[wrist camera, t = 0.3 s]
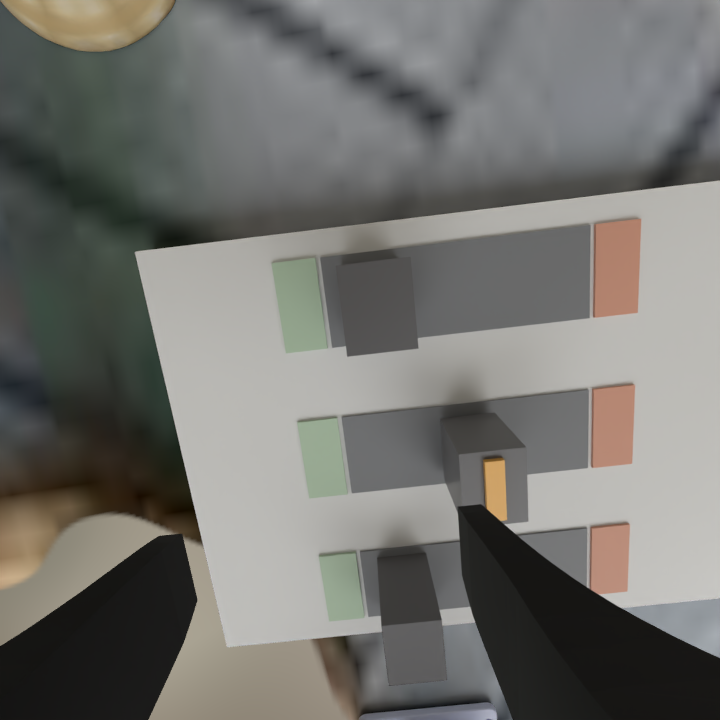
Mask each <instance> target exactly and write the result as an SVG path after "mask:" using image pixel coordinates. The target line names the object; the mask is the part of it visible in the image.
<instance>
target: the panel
mask: <svg viewBox="0 0 720 720" xmlns="http://www.w3.org/2000/svg"><path fill="white" fill-rule="evenodd" d="M135 255H136V259H137V264H138V268H139V272H140V276H141V281H142V285H143V289H144V294H145V298H146V302H147V306H148V311H149V315H150V319H151V324H152V328H153V332H154V336H155V341H156V345H157V349H158V354H159V358H160V362H161V366H162V371H163V375H164V379H165V384H166V388H167V392H168V396H169V401H170V405H171V409H172V414H173V418H174V422H175V426H176V431H177V435H178V439H179V444H180V448H181V452H182V456H183V461H184V465H185V469H186V474H187V478H188V482H189V486H190V491H191V495H192V499H193V503H194V508H195V512H196V516H197V521H198V525H199V529H200V533H201V538H202V542H203V546H204V551H205V555H206V559H207V563H208V568H209V572H210V576H211V581H212V585H213V589H214V593H215V597H216V602H217V606H218V611H219V615H220V619H221V623H222V628H223V632H224V636H225V640H226V645H227V647H235V646H246V645H255V644H266V643H274V642H275V643H276V642H286V641H295V640H306V639H316V638H326V637H336V636H346V635H356V634H366V633H376V632H382V635H383V643H384V651H385V659H386V667H387V675H388V683H389V686H393V685H403V684H414V683H424V682H434V681H444V680H447V674H446V662H445V651H444V639H443V628H442V626H446V625H456V624H466V623H475V620H474V617H473V615H472V611H471V607H470V604H469V600H468V597H467V593H466V589H465V585H464V581H463V577H462V570H461V554H460V538H459V522H458V513H457V510H456V508H455V505H454V503H453V500H452V498H451V495H450V493H449V490H448V488H447V485H446V483H445V479H444V466H443V453H442V440H441V427H440V418H449V417H458V416H467V415H476V414H485V413H494V412H495V413H496V414H497V416H498V417H499V418H500V419H501V420H502V421H503V422H504V423H505V424H506V425H507V426H508V428H509V429H510V430H511V431H512V432H513V433H514V434H515V435H516V436H517V437H518V439H519V440H520V441H521V442H522V443H523V444H524V445H525V446H526V447H527V485H528V522H521V523H511V524H505V525H506V526H507V527H508V528H509V529H510V530H512V531H513V532H514V533H515V534H516V535H517V536H519V537H520V538H521V539H522V540H523V541H525V542H526V543H527V544H528V545H530V546H531V547H532V548H533V549H535V550H536V551H537V552H538V553H540V554H541V555H542V556H543V557H545V558H546V559H547V560H549V561H550V562H551V563H553V564H554V565H556V566H557V567H558V568H560V569H561V570H563V571H564V572H565V573H567V574H568V575H570V576H571V577H572V578H574V579H575V580H577V581H578V582H580V583H581V584H583V585H584V586H586V587H587V588H589V589H591V590H592V591H594V592H595V593H597V594H599V595H600V596H602V597H604V598H605V599H607V600H608V601H610V602H612V603H613V604H615V605H617V606H618V607H620V608H626V607H636V606H646V605H656V604H666V603H676V602H686V601H696V600H706V599H716V598H720V181H711V182H703V183H695V184H687V185H679V186H670V187H662V188H654V189H646V190H637V191H629V192H621V193H613V194H605V195H596V196H588V197H580V198H572V199H564V200H555V201H547V202H539V203H531V204H523V205H514V206H506V207H498V208H490V209H481V210H473V211H465V212H457V213H449V214H440V215H432V216H424V217H416V218H408V219H399V220H391V221H383V222H375V223H367V224H358V225H350V226H342V227H334V228H325V229H317V230H309V231H301V232H293V233H284V234H276V235H268V236H260V237H252V238H243V239H235V240H227V241H219V242H211V243H202V244H194V245H186V246H178V247H169V248H161V249H153V250H145V251H137V252H135Z"/></svg>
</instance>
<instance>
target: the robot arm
mask: <svg viewBox="0 0 720 720" xmlns="http://www.w3.org/2000/svg"><path fill="white" fill-rule="evenodd" d="M458 522H459V538H460V554H461V570H462V577H463V581H464V585H465V589H466V593H467V597H468V600H469V604H470V607H471V611H472V615H473V617H474V620H475V623H476V625H477V628H478V631H479V633H480V636H481V638H482V641H483V644H484V646H485V649H486V651H487V654H488V657H489V659H490V662H491V664H492V667H493V669H494V672H495V674H496V677H497V680H498V682H499V685H500V687H501V690H502V692H503V695H504V698H505V700H506V703H507V705H508V708H509V710H510V713H511V716H512V719H513V720H720V658H718V657H716V656H714V655H712V654H709V653H707V652H705V651H703V650H701V649H699V648H697V647H694V646H692V645H690V644H688V643H686V642H684V641H682V640H680V639H678V638H676V637H674V636H672V635H670V634H668V633H666V632H664V631H662V630H660V629H659V628H657V627H655V626H653V625H651V624H649V623H647V622H645V621H643V620H641V619H639V618H638V617H636V616H634V615H632V614H631V613H629V612H627V611H625V610H623V609H622V608H620V607H618V606H617V605H615V604H613V603H612V602H610V601H608V600H607V599H605V598H604V597H602V596H600V595H599V594H597V593H595V592H594V591H592V590H591V589H589V588H587V587H586V586H584V585H583V584H581V583H580V582H578V581H577V580H575V579H574V578H572V577H571V576H570V575H568V574H567V573H565V572H564V571H563V570H561V569H560V568H558V567H557V566H556V565H554V564H553V563H551V562H550V561H549V560H547V559H546V558H545V557H543V556H542V555H541V554H540V553H538V552H537V551H536V550H535V549H533V548H532V547H531V546H530V545H528V544H527V543H526V542H525V541H523V540H522V539H521V538H520V537H519V536H517V535H516V534H515V533H514V532H513V531H512V530H510V529H509V528H508V527H507V526H506V525H505V524H503V523H502V522H501V521H500V520H499V519H498V518H497V517H495V516H494V515H493V514H492V513H491V512H490V511H489V510H487V509H486V508H485V507H484V506H483V505H482V504H478V505H468V506H458ZM196 603H197V596H196V592H195V588H194V583H193V579H192V574H191V570H190V566H189V561H188V557H187V553H186V548H185V544H184V540H183V535H182V534H174V535H164V536H158V537H157V538H155V539H154V540H152V541H150V542H149V543H147V544H146V545H144V546H143V547H142V548H140V549H139V550H138V551H136V552H135V553H133V554H132V555H131V556H129V557H128V558H127V559H125V560H124V561H122V562H121V563H120V564H118V565H117V566H116V567H115V568H113V569H112V570H110V571H109V572H107V573H106V574H105V575H103V576H102V577H101V578H99V579H98V580H97V581H95V582H94V583H92V584H91V585H90V586H88V587H87V588H86V589H85V590H83V591H82V592H80V593H79V594H77V595H76V596H75V597H73V598H72V599H70V600H69V601H67V602H66V603H65V604H63V605H62V606H60V607H59V608H57V609H56V610H54V611H53V612H51V613H50V614H49V615H47V616H46V617H45V618H43V619H41V620H40V621H39V622H37V623H36V624H34V625H33V626H31V627H30V628H28V629H27V630H25V631H23V632H22V633H20V634H19V635H18V636H16V637H14V638H13V639H11V640H9V641H8V642H6V643H5V644H3V645H1V646H0V720H148V719H149V717H150V715H151V713H152V711H153V708H154V706H155V704H156V702H157V700H158V698H159V695H160V693H161V691H162V689H163V687H164V685H165V683H166V680H167V678H168V676H169V674H170V672H171V670H172V667H173V665H174V663H175V661H176V658H177V656H178V654H179V652H180V650H181V647H182V645H183V643H184V640H185V637H186V634H187V631H188V628H189V625H190V622H191V619H192V616H193V613H194V610H195V606H196ZM359 720H497V713H496V709H495V706H494V705H493V704H491V703H488V702H485V703H474V704H464V705H453V706H443V707H432V708H422V709H411V710H401V711H391V712H380V713H370V714H364V715H362V716H361V717H360V718H359Z"/></svg>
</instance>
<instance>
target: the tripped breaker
mask: <svg viewBox="0 0 720 720" xmlns="http://www.w3.org/2000/svg"><path fill="white" fill-rule="evenodd" d="M440 427H441V440H442V453H443V466H444V479H445V483H446V485H447V488H448V490H449V493H450V495H451V498H452V500H453V503H454V505H455V508H456V510H457V513H458V506H468V505H478V504H482V505H483V506H484V507H485V508H486V509H487V510H489V511H490V512H491V513H492V514H493V515H494V516H495V517H497V518H498V519H499V520H500V521H501V522H502V523H503V524H511V523H521V522H528V485H527V447H526V446H525V445H524V444H523V443H522V442H521V441H520V440H519V439H518V437H517V436H516V435H515V434H514V433H513V432H512V431H511V430H510V429H509V428H508V426H507V425H506V424H505V423H504V422H503V421H502V420H501V419H500V418H499V417H498V416H497V414H496V413H495V412H494V413H485V414H476V415H467V416H458V417H449V418H440Z"/></svg>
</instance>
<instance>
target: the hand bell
mask: <svg viewBox="0 0 720 720" xmlns="http://www.w3.org/2000/svg"><path fill="white" fill-rule="evenodd" d="M0 1H1V2H2V3H3V5H4V6H5V7H6V8H7V9H8V10H9V11H10V12H11V13H12V14H13V15H14V16H15V17H16V18H17V19H18V20H19V21H20V22H22V23H23V24H24V25H25V26H27V27H28V28H29V29H31V30H32V31H34V32H35V33H37V34H38V35H40V36H42V37H43V38H45V39H47V40H49V41H52V42H54V43H56V44H59V45H62V46H64V47H68V48H71V49H75V50H80V51H90V52H103V51H112V50H116V49H119V48H122V47H125V46H128V45H130V44H133V43H134V42H136V41H138V40H139V39H141V38H142V37H144V36H146V35H147V34H149V33H150V32H151V31H152V30H153V29H154V28H156V27H157V26H158V25H159V23H160V22H161V21H162V20H163V19H164V18H165V17H166V16H167V14H168V13H169V12H170V11H171V9H172V7H173V5H174V3H175V0H0Z"/></svg>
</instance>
